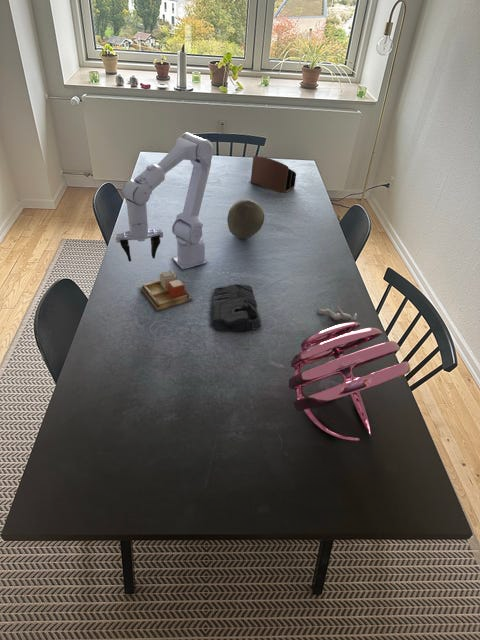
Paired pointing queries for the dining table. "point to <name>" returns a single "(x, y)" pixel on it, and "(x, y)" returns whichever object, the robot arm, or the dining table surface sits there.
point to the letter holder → (272, 175)
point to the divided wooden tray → (162, 295)
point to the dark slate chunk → (234, 308)
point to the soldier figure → (337, 314)
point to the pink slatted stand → (341, 369)
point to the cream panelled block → (167, 278)
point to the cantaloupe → (245, 218)
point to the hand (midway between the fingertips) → (141, 258)
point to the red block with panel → (175, 288)
